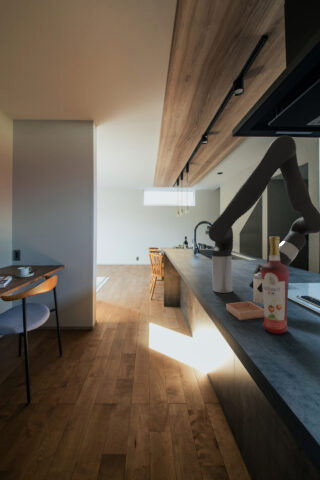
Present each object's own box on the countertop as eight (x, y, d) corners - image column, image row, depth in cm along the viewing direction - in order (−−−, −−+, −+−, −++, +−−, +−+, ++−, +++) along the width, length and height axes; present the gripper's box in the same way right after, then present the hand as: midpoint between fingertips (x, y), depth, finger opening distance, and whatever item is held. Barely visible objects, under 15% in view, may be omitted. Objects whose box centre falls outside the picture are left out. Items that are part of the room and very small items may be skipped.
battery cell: (251, 300, 88) (250, 272, 87) (261, 299, 89) (260, 271, 88) (258, 304, 84) (257, 274, 83) (268, 302, 85) (268, 274, 84)
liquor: (293, 330, 67) (292, 236, 65) (284, 339, 62) (283, 237, 60) (267, 323, 72) (266, 236, 71) (257, 331, 67) (256, 237, 66)
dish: (226, 310, 84) (226, 303, 84) (249, 307, 86) (249, 301, 86) (240, 320, 75) (240, 313, 75) (265, 317, 77) (265, 309, 77)
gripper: (264, 247, 94) (238, 278, 92) (290, 251, 80) (260, 287, 78) (275, 259, 95) (250, 290, 93) (303, 265, 81) (274, 301, 79)
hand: (255, 288), depth 86 cm, fingers closed on battery cell, 4 cm apart
